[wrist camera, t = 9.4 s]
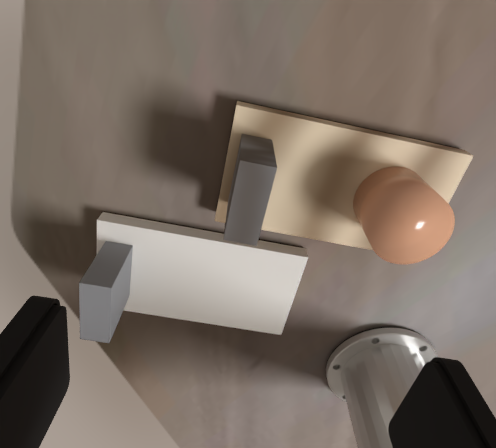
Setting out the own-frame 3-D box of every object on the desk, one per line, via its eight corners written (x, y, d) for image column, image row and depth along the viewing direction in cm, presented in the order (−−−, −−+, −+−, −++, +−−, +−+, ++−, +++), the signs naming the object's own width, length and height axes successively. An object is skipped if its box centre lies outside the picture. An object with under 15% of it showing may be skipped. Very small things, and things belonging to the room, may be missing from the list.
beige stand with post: (463, 149, 31) (521, 186, 24) (413, 249, 36) (450, 302, 29) (237, 100, 29) (233, 126, 22) (215, 213, 34) (207, 261, 27)
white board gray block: (306, 248, 36) (318, 301, 29) (280, 324, 40) (286, 384, 34) (102, 211, 34) (67, 259, 27) (101, 296, 39) (70, 353, 32)
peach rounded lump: (438, 174, 30) (470, 201, 26) (408, 236, 33) (432, 270, 29) (367, 159, 30) (388, 184, 25) (343, 224, 33) (357, 256, 28)
